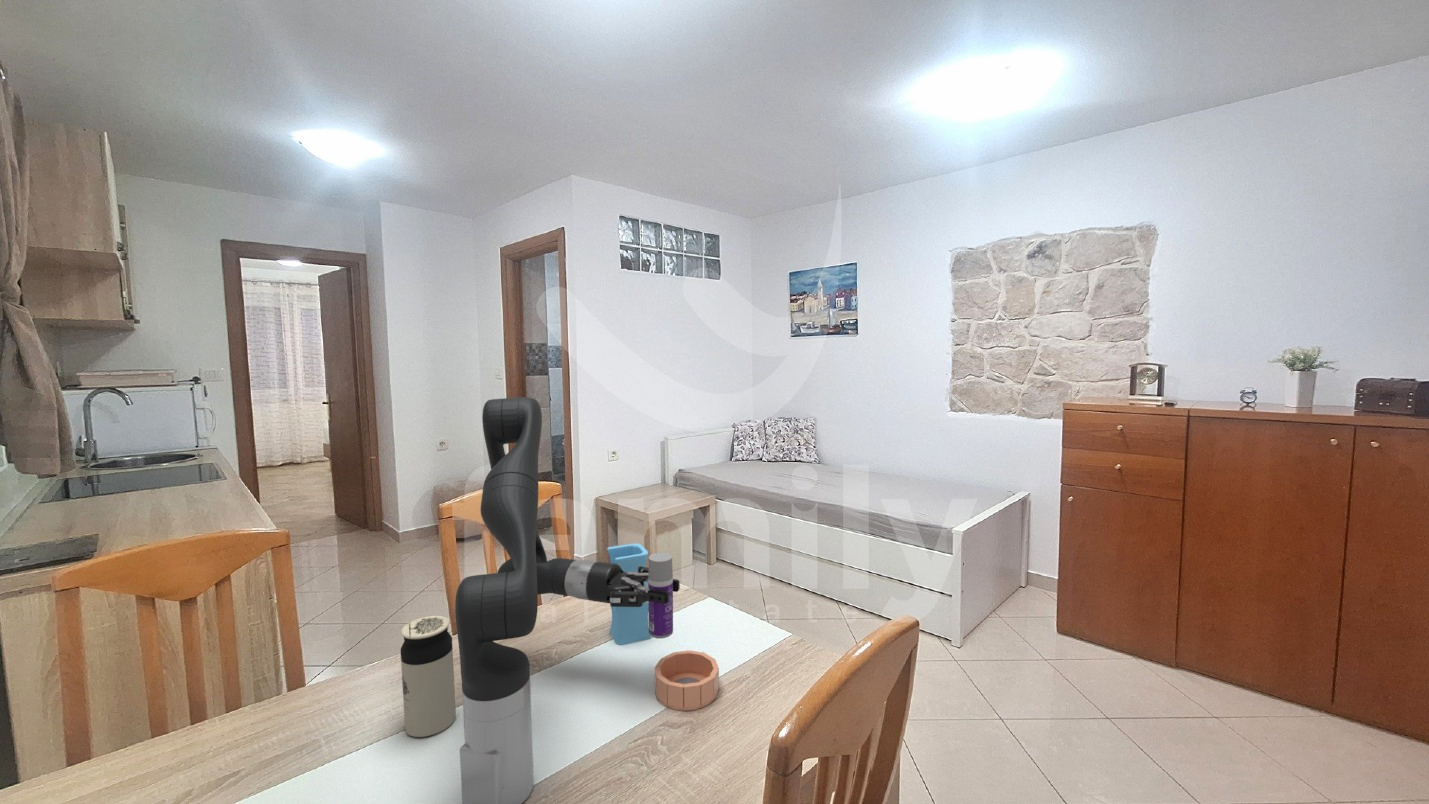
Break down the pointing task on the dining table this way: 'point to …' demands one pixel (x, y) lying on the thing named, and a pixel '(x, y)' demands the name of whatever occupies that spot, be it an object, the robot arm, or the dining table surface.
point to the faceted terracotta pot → (686, 680)
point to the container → (661, 580)
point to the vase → (631, 620)
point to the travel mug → (427, 676)
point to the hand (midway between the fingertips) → (673, 591)
